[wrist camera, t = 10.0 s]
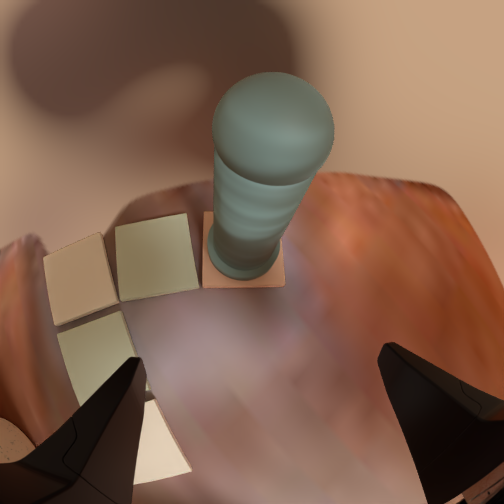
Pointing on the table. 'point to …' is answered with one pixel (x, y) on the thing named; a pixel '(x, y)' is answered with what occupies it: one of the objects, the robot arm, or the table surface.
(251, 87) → the pawn
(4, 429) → the teacup with lid
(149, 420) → the track
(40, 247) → the table surface
